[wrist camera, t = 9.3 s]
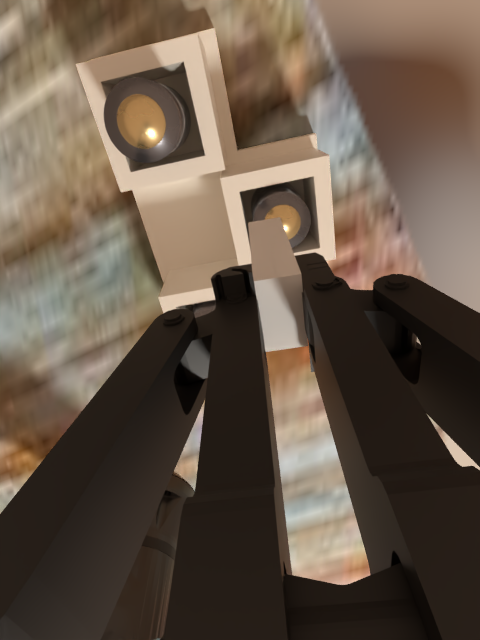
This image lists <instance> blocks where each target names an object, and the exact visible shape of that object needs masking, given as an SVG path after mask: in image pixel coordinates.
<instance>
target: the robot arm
mask: <svg viewBox="0 0 480 640" xmlns="http://www.w3.org/2000/svg"><path fill="white" fill-rule="evenodd" d="M248 227H249V239H250V251H251V262H252V264H246V265H240V266H234V267H229V268H227V269H223V270H221V271H219V272H217V273H215V274H214V275H213V276H212V277H211V283H212V287H213V291H214V295H215V300H216V306H215V310H214V311H212V312H210V313H208V314H206V315H203V316H200V317H197V318H195V315H194V313H193V311H191V310H188V309H173V310H171V311H170V310H169V311H167V312H165V313H164V314H162V315H160V316H159V317H157V318H156V319H155V320H154V321H153V323H152V324H151V325H150V326H149V328H148V329H147V330H146V332H145V333H144V334H143V335H142V337H141V338H140V339H139V340H138V342H137V343H136V344H135V345H134V347H133V348H132V349H131V350H130V352H129V353H128V354H127V355H126V357H125V358H124V359H123V360H122V362H121V363H120V364H119V365H118V367H117V368H116V369H115V371H114V372H113V373H112V374H111V376H110V377H109V378H108V379H107V381H106V382H105V383H104V384H103V386H102V387H101V388H100V389H99V391H98V392H97V393H96V394H95V396H94V397H93V398H92V399H91V401H90V402H89V403H88V404H87V406H86V407H85V408H84V410H83V411H82V412H81V413H80V415H79V416H78V417H77V418H76V420H75V421H74V422H73V423H72V425H71V426H70V427H69V428H68V430H67V431H66V432H65V433H64V435H63V436H62V437H61V438H60V440H59V441H58V442H57V444H56V445H55V446H54V447H53V449H52V450H51V451H50V452H49V454H48V455H47V456H46V457H45V459H44V460H43V461H42V462H41V464H40V465H39V466H38V467H37V469H36V470H35V471H34V472H33V474H32V475H31V476H30V477H29V479H28V480H27V481H26V483H25V484H24V485H23V486H22V488H21V489H20V490H19V491H18V493H17V494H16V495H15V496H14V498H13V499H12V500H11V501H10V503H9V504H8V505H7V506H6V508H5V509H4V510H3V511H2V513H1V514H0V640H480V470H478V469H477V468H475V467H474V466H467V467H462V466H460V465H459V464H457V462H456V461H455V460H454V458H453V457H452V455H451V454H450V452H449V450H448V449H447V447H446V445H445V444H444V442H443V440H442V439H441V437H440V435H439V434H438V432H437V431H436V429H435V427H434V426H433V424H432V422H431V421H430V419H429V417H428V416H427V414H428V415H429V416H430V417H431V418H432V419H433V420H434V421H435V422H436V423H437V424H438V425H439V426H440V427H441V429H442V430H443V431H444V432H445V433H446V434H448V436H450V438H451V439H452V440H453V441H454V442H455V443H456V444H457V445H459V447H460V448H461V449H462V450H463V451H464V452H465V453H466V454H467V455H468V456H469V457H470V458H471V459H473V461H474V462H475V463H476V464H477V465H478V466H479V467H480V313H478V312H476V311H474V310H473V309H471V308H469V307H467V306H466V305H464V304H462V303H460V302H458V301H456V300H454V299H453V298H451V297H449V296H447V295H446V294H444V293H442V292H440V291H438V290H437V289H435V288H433V287H431V286H429V285H428V284H426V283H424V282H422V281H420V280H418V279H417V278H414V277H411V276H406V275H403V274H397V275H396V274H391V275H388V276H383V277H381V278H378V279H377V280H376V281H375V282H374V284H373V290H354V289H350V288H349V286H348V284H347V283H346V281H345V280H343V279H342V278H339V277H336V276H334V274H333V273H332V271H331V269H330V267H329V266H328V264H327V262H326V260H325V258H324V257H323V256H322V255H320V254H318V253H316V252H314V253H308V254H302V255H296V256H294V253H293V250H292V248H291V245H290V242H289V240H288V237H287V234H286V232H285V229H284V226H283V224H282V221H281V219H280V217H278V218H272V219H266V220H261V221H255V222H249V223H248ZM417 337H418V339H419V341H420V343H421V345H420V344H419V343H417V342H416V340H417ZM307 338H308V341H309V352H310V363H311V372H315V375H316V378H317V382H318V385H319V389H320V392H321V396H322V399H323V403H324V406H325V410H326V413H327V417H328V420H329V424H330V428H331V431H332V435H333V438H334V442H335V445H336V449H337V452H338V456H339V459H340V463H341V466H342V470H343V473H344V477H345V480H346V484H347V487H348V491H349V494H350V498H351V502H352V505H353V509H354V512H355V516H356V519H357V523H358V526H359V530H360V533H361V537H362V540H363V544H364V547H365V551H366V555H367V559H368V563H369V568H370V574H371V575H370V576H368V577H365V578H363V579H361V580H358V581H356V582H353V583H351V584H348V585H336V584H332V583H327V582H322V581H317V580H312V579H307V578H303V577H298V576H293V575H292V570H291V562H290V553H289V545H288V536H287V528H286V519H285V511H284V502H283V494H282V485H281V477H280V468H279V459H278V451H277V442H276V434H275V425H274V417H273V408H272V400H271V391H270V383H269V374H268V366H267V358H266V352H268V351H275V350H282V349H289V348H296V347H303V346H308V342H307ZM205 397H206V398H205ZM204 400H205V407H204V416H203V425H202V434H201V443H200V453H199V462H198V471H197V480H196V488H195V492H194V491H193V489H192V488H191V487H190V486H189V485H188V484H187V483H186V482H184V481H183V480H181V479H180V478H178V477H176V476H173V475H172V474H173V471H174V469H175V467H176V465H177V462H178V460H179V458H180V455H181V453H182V451H183V448H184V446H185V444H186V441H187V439H188V437H189V434H190V432H191V430H192V428H193V425H194V423H195V421H196V418H197V416H198V414H199V411H200V409H201V407H202V404H203V402H204ZM426 413H427V414H426Z"/></svg>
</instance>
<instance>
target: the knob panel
mask: <svg viewBox="0 0 480 640" xmlns="http://www.w3.org/2000/svg"><path fill="white" fill-rule="evenodd" d="M76 67H77V70H78V73H79V75H80V78H81V81H82V84H83V87H84V89H85V92H86V95H87V98H88V101H89V104H90V106H91V109H92V112H93V115H94V118H95V121H96V123H97V126H98V129H99V132H100V135H101V138H102V140H103V143H104V146H105V149H106V152H107V154H108V157H109V160H110V163H111V166H112V169H113V171H114V174H115V177H116V180H117V183H118V186H119V188H120V191H121V192H125V191H130V190H132V191H133V194H134V197H135V200H136V203H137V206H138V209H139V212H140V215H141V218H142V221H143V224H144V227H145V230H146V233H147V236H148V239H149V242H150V245H151V248H152V250H153V253H154V256H155V259H156V262H157V265H158V268H159V271H160V274H161V277H162V280H163V283H164V285H163V287H162V290H161V292H160V294H159V297H158V298H159V301H160V304H161V307H162V310H163V313H165V312H167V311H169V310H170V311H171V310H173V309H188V310H191V311H192V310H193V306H194V303H200V302H205V301H211V300H215V295H214V291H213V287H212V283H211V277H212V276H213V275H214V274H215V273H217V272H219V271H221V270H223V269H227V268H229V267H234V266H240V265H246V264H252V262H251V251H250V239H249V227H248V223H249V222H253V218H252V211H251V200H252V197H253V194H254V192H255V191H256V189H257V188H260V187H265V186H269V185H274V184H279V183H284V182H288V183H289V184H291V185H292V186H293V187H294V189H295V190H296V191H297V193H298V194H299V195H300V197H301V198H302V200H303V201H304V202H305V204H306V205H307V207H308V209H309V212H310V216H311V225H310V229H309V232H308V234H307V236H306V237H305V238H304V240H303V241H302V242H301V243H300V244H298V245H297V246H295V247H293V248H292V250H293V253H294V256H296V255H302V254H308V253H314V252H316V253H318V254H320V255H322V256H323V257H324V258H325V260H326V261H328V260H333V259H336V252H335V237H334V222H333V207H332V192H331V176H330V161H329V155H328V154H326V153H324V152H322V151H320V150H318V149H317V139H316V134H315V133H311V134H307V135H302V136H298V137H293V138H289V139H284V140H280V141H275V142H270V143H266V144H261V145H257V146H252V147H248V148H243V149H239V150H237V145H236V140H235V135H234V129H233V124H232V118H231V113H230V107H229V102H228V97H227V91H226V86H225V80H224V75H223V69H222V64H221V58H220V53H219V48H218V42H217V37H216V31H215V28H212V29H208V30H204V31H200V32H196V33H192V34H188V35H184V36H181V37H177V38H173V39H169V40H165V41H161V42H157V43H153V44H149V45H145V46H141V47H137V48H133V49H130V50H126V51H122V52H118V53H114V54H110V55H106V56H102V57H98V58H94V59H90V60H88V61H86V62H82V63H78V64H76ZM132 77H141V78H146V79H149V80H152V81H155V82H158V83H161V84H164V85H167V86H169V87H171V88H173V89H174V90H176V91H177V92H178V93H179V94H180V95H181V96H182V97H183V99H184V100H185V102H186V104H187V106H188V108H189V112H190V117H191V128H190V132H189V135H188V138H187V139H186V141H185V142H184V144H183V145H182V146H181V147H180V148H178V149H177V150H175V151H174V152H172V153H171V154H169V155H168V156H166V157H165V158H163V159H161V160H159V161H157V162H153V163H141V162H137V161H134V160H131V159H129V158H128V157H126V156H125V155H123V154H122V153H121V152H120V151H119V150H118V149H117V148H116V147H115V146H114V144H113V143H112V141H111V140H110V138H109V136H108V133H107V131H106V128H105V123H104V105H105V101H106V98H107V96H108V94H109V92H110V91H111V89H112V88H113V87H114V86H115V85H116V84H118V83H119V82H120V81H122V80H124V79H127V78H132Z"/></svg>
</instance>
